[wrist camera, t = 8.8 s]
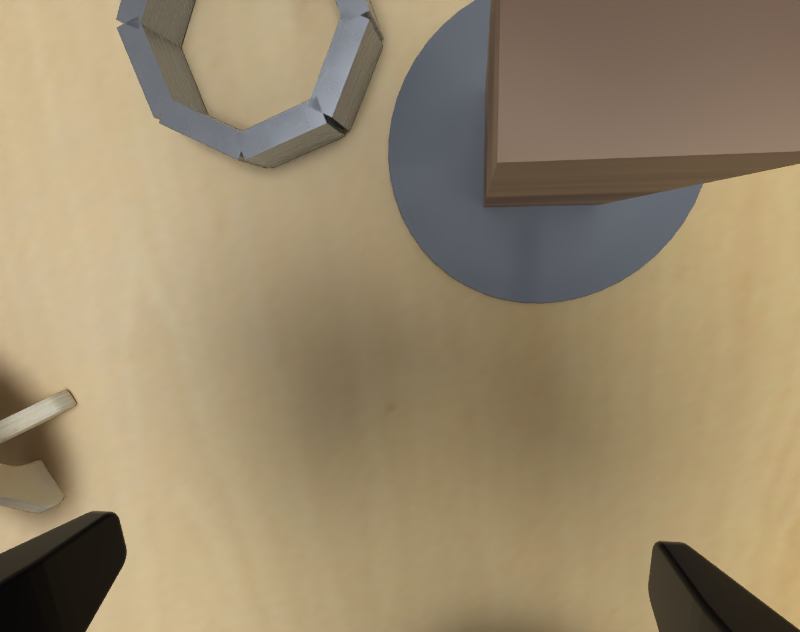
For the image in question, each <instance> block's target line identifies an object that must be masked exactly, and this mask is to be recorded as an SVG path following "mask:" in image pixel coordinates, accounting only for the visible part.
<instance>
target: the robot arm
mask: <svg viewBox="0 0 800 632" xmlns="http://www.w3.org/2000/svg"><path fill="white" fill-rule="evenodd" d="M126 555H127V549H126V544H125V540H124V536H123V532H122V528H121V524H120V520H119V517H118V516H117V515H116V514H115V513H113V512H106V511H92V512H89V513H86V514H84V515H82V516H80V517H78V518H76V519H73V520H71V521H69V522H67V523H65V524H63V525H61V526H59V527H56V528H54V529H52V530H50V531H48V532H46V533H44V534H41V535H39V536H37V537H35V538H33V539H31V540H29V541H27V542H24V543H22V544H20V545H18V546H16V547H14V548H12V549H9V550H7V551H5V552H3V553H1V554H0V632H86V630H87V628H88V627H89V625H90V623H91V621H92V620H93V618H94V616H95V614H96V613H97V611H98V609H99V607H100V605H101V604H102V602H103V600H104V598H105V597H106V595H107V593H108V591H109V590H110V588H111V586H112V584H113V583H114V581H115V579H116V577H117V576H118V574H119V572H120V570H121V569H122V567H123V565H124V562H125V559H126ZM648 590H649V597H650V602H651V606H652V609H653V612H654V616H655V619H656V622H657V626H658V629H659V632H800V630H799V629H798V628H796V627H795V626H794V625H792V624H791V623H790V622H788V621H787V620H786V619H785V618H783V617H782V616H781V615H779V614H778V613H777V612H775V611H774V610H773V609H771V608H770V607H769V606H767V605H766V604H765V603H763V602H762V601H761V600H760V599H758V598H757V597H756V596H754V595H753V594H752V593H750V592H749V591H748V590H746V589H745V588H744V587H742V586H741V585H740V584H739V583H737V582H736V581H735V580H733V579H732V578H731V577H729V576H728V575H727V574H725V573H724V572H723V571H721V570H720V569H719V568H717V567H716V566H715V565H714V564H712V563H711V562H710V561H708V560H707V559H706V558H704V557H703V556H702V555H700V554H699V553H698V552H696V551H695V550H694V549H693V548H691V547H690V546H688V545H687V544H685V543H681V542H666V541H658V542H656V543H655V544H654V546H653V550H652V558H651V566H650V574H649V583H648Z"/></svg>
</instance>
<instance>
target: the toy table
mask: <svg viewBox="0 0 800 632" xmlns="http://www.w3.org/2000/svg"><path fill="white" fill-rule="evenodd" d="M75 405H76V402H75V400H74V399H73V397H72V396H71V394H70V393H69V392H68V391H67V390H65V391H62V392H60V393H57V394H55V395H52V396H50V397H48V398H46V399H44V400H42V401H40V402H38V403H36V404H33V405H31V406H29V407H27V408H25V409H23V410H21V411H19V412H17V413H15V414H13V415H11V416H9V417H7V418H5V419H3V420H0V444H1V443H3V442H5V441H7V440H9V439H11V438H14V437H16V436H17V435H19V434H22V433H24V432H26V431H28V430H30V429H32V428H34V427H36V426H38V425H40V424H42V423H45V422H47V421H49V420H50V419H52V418H54V417H56V416H57V415H59V414H61V413H63V412H65V411H66V410H68V409H70V408H72V407H74V406H75ZM63 498H64V494H63V493H62V491H61V490H60V488H59V487H58V485H57V484H56V482H55V481H54V479H53V477H52V476H51V474H50V473H49V471H48V470H47V468H46V467H45V465H44V463H43V462H42V461H41V460H36V461H33V462H31V463H28V464H24V465H19V466H12V465H6V464H2V463H0V505H1V506H6V507H10V508H13V509H19V510H24V511H28V512H33V513H39V512H43V511H45V510H47V509H49V508H51V507H53V506H55V505H57V504H59V503H60V502H61V501H62V499H63Z"/></svg>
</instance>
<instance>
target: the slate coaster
mask: <svg viewBox="0 0 800 632" xmlns="http://www.w3.org/2000/svg"><path fill="white" fill-rule="evenodd" d="M490 5H491V0H475V1H473V2H472V3H470V4H469V5H467V6H466V7H464V8H463V9H461V10H460V11H459V12H458V13H456V14H455V15H454V16H453V17H452V18H451V19H449V20H448V21H447V22H446V23H445V24H444V25H443V26H442V27H441V28H440V29H439V30H438V31H437V32H436V33H435V34H434V35H433V37H432V38H431V39H430V40H429V41H428V42H427V44H426V45H425V46H424V48H423V49H422V51H421V52H420V53H419V55H418V56H417V58H416V59H415V61H414V63H413V65H412V66H411V68H410V70H409V72H408V74H407V76H406V77H405V80H404V82H403V85H402V87H401V90H400V92H399V95H398V97H397V100H396V104H395V108H394V112H393V115H392V120H391V127H390V134H389V169H390V178H391V183H392V187H393V191H394V196H395V199H396V202H397V205H398V207H399V210H400V213H401V215H402V218H403V220H404V221H405V223H406V225H407V227H408V229H409V231H410V233H411V234H412V236H413V237H414V239H415V240H416V241H417V243H418V244H419V246H420V247H421V248H422V250H423V251H424V252H425V253H426V254H427V255H428V256H429V257H430V258H431V259H432V260H433V262H434V263H435V264H437V265H438V266H439V267H440V268H441V269H443V270H444V271H445V272H446V273H448V274H449V275H450V276H452V277H453V278H455V279H456V280H458V281H460V282H461V283H463V284H464V285H466V286H468V287H470V288H473V289H475V290H477V291H479V292H481V293H484V294H487V295H490V296H493V297H497V298H500V299H504V300H510V301H516V302H523V303H550V302H562V301H566V300H571V299H576V298H581V297H584V296H587V295H590V294H593V293H596V292H599V291H601V290H604V289H606V288H608V287H610V286H612V285H614V284H616V283H618V282H620V281H622V280H623V279H625V278H626V277H628V276H630V275H631V274H633V273H634V272H636V271H637V270H639V269H640V268H641V267H642V266H644V265H645V264H646V263H647V262H649V261H650V260H651V259H652V258H653V257H655V256H656V255H657V254H658V253H659V252H660V250H661V249H662V248H663V247H664V246H665V245H666V244H667V243H668V242H669V241H670V240H671V239H672V237H673V236H674V235H675V233H676V232H677V231H678V229H679V228H680V227H681V225H682V224H683V223H684V221H685V219H686V218H687V216H688V214H689V212H690V210H691V209H692V207H693V205H694V203H695V202H696V199H697V197H698V194H699V192H700V189H701V187H702V185H703V184H698V185H693V186H688V187H683V188H679V189H674V190H669V191H664V192H659V193H654V194H649V195H645V196H640V197H635V198H630V199H625V200H620V201H615V202H611V203H606V204H601V205H566V206H524V207H484V147H485V87H486V71H487V54H488V38H489V21H490Z"/></svg>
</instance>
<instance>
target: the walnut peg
mask: <svg viewBox="0 0 800 632" xmlns="http://www.w3.org/2000/svg"><path fill="white" fill-rule="evenodd" d="M795 164H800V0H491V5H490V21H489V38H488V54H487V71H486V87H485V147H484V207H524V206H566V205H601V204H606V203H611V202H615V201H620V200H625V199H630V198H635V197H640V196H645V195H649V194H654V193H659V192H664V191H669V190H674V189H679V188H683V187H688V186H693V185H698V184H703V183H708V182H713V181H717V180H722V179H727V178H732V177H737V176H742V175H747V174H752V173H756V172H761V171H766V170H771V169H776V168H781V167H786V166H790V165H795Z"/></svg>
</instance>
